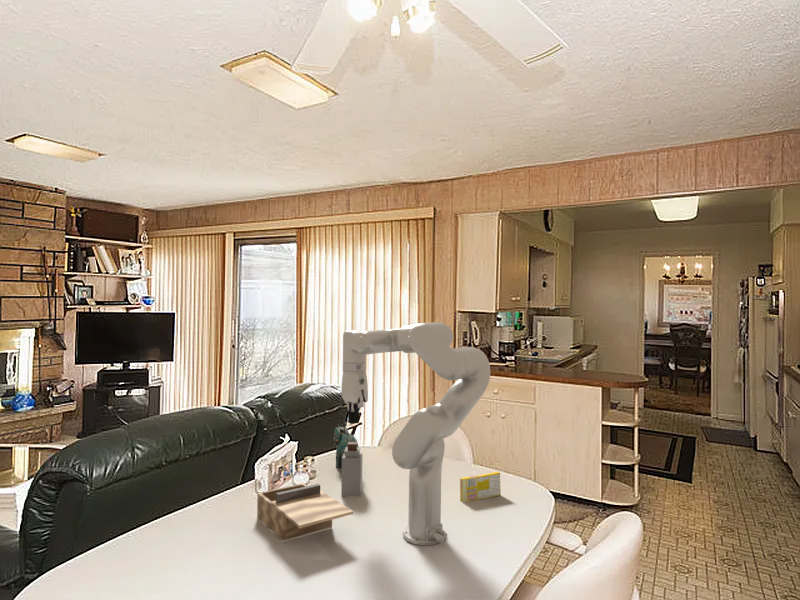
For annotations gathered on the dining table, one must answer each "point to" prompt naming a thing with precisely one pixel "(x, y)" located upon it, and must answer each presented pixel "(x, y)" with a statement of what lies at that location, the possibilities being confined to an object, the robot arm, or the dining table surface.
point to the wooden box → (279, 522)
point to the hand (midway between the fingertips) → (353, 422)
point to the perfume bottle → (351, 471)
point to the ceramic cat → (342, 443)
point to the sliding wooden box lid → (309, 506)
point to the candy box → (480, 487)
